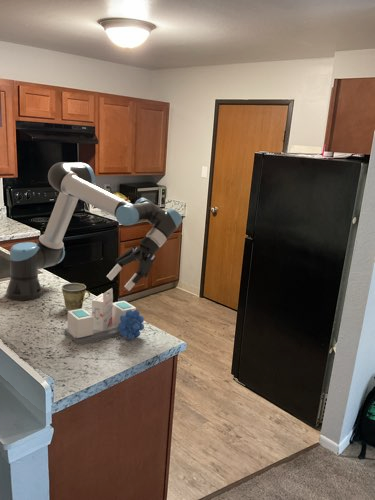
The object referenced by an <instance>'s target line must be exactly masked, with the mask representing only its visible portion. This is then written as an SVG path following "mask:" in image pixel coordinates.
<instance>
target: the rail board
mask: <svg viewBox="0 0 375 500" xmlns="http://www.w3.org/2000/svg"><path fill="white" fill-rule="evenodd" d="M127 310H132V311H134V310H137V307H135V306H134V305H132V304H130V303H129V302H127V301H126V300H121V301H115V302H113V309H112V323H111V324H110V325H109V326H108V327H107V328H106V329H105V330H104V331H99V330H93V327H94V316H92V313H90V312H88V310H86V309H84V308H83V307H82V309H77V310H71V311H67V327H66V328H64V332H63V333H64V334H66V336H67V337H69V338H70V339H71V340H72V341H73V343H75V344H76V345H77V346H81V345H86V344H90V343H94V342H97V341H101V340H102V341H103V340H106V339H109V338H113V337H114V338H115V337H118V336H121V333H120V332H121V330H119V329H118V324H119V323H120V322H121V321H120V316H121V315H126V311H127Z"/></svg>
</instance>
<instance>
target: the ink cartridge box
mask: <svg viewBox="0 0 375 500" xmlns="http://www.w3.org/2000/svg"><path fill="white" fill-rule="evenodd" d="M113 291H114V290H113V287H111V288H110V289H108V290H107V291H105V292H104V293H101V294H99V295H97V296H96V297H95V298H93V299H91V315H92V316H94V327H93V330H99V331H104V330H105V329H106V328H107V327H108V326H109V325H110V324H111V323H112V309H113V303H114V302H113V301H114V293H113Z"/></svg>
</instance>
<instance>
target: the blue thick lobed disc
mask: <svg viewBox="0 0 375 500" xmlns="http://www.w3.org/2000/svg"><path fill="white" fill-rule="evenodd" d="M144 320H145V318H144V316H143V315H141V314H140V311H139V310H137V309H136V310H134V311H132V310H127V311H126V315H121V316H120V321H121V322H120V323H119V324H118V329H119V330H121V332H120V333H121V335H120V336H121V337H123V338H126V339H127V340H129V341H130V340H131V341H132V340H133V339H134V337H135V338H138V337H140V336H141V331H143V330H144V329H145V325H144Z"/></svg>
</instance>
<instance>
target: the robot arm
mask: <svg viewBox="0 0 375 500" xmlns="http://www.w3.org/2000/svg"><path fill="white" fill-rule="evenodd" d="M47 178H48V179H47V180H48V182H49V185H51V187H52V188H53V189H54V190H55V191H58V192H59V194H58V195H57V198H56V201H55V203H54V207H53V210H52V211H51V214H50V217H49V220H48V222H47V225H46V228H45V231H44V233H43V234H41V235H40V236H39V237H38V240H37V243H35V242H32V241H26V242H19V243H16V244H14V245H12V246H11V247H10V249H9V270H10V272H9V273H10V274H9V275H10V276H9V277H10V280H9V283H8V285H7V288H6V290H5V291H6V292H5V293H6V297H7V298H8V299H10V300H13V301H15V300H16V301H28V300H29V301H30V300H35V299H37V298H40V297H41V296H42V295H43V289H42V285H41V284H40V280H39V274H38V273H39V270H41V269H44V268H45V269H46V268H49V267H53V266H57V265H58V264H59V263H61V262H62V261H63V260H64V258H65V255H66V251H65V245H64V244H65V243H64V242H63V239H64V236H65V234H66V232H67V229H68V226H69V224H70V221H71V219H72V216H73V214H74V212H75V209H76V207H77V204H78V203H79V202H78V201H79V200H81V201H83V202H85V203H87V204H88V205H90V206H93V207H95V208H96V209H98V210H100V211H102V212H104V213H106V214H108V215H110V216H112V217H114V218H116V221H117V222H118V224H120V225H122V226H133V225H137V224H141V223H145V222H146V223H149V224H150V225H152V226H153V227H151V229H150V230H149V231H148V232H147V233H146V236H144V237H143V238H142V239H141V240H140V242H139V247H137V246H136V245H133V246H132V247H131V248H130V249H128V250H127V251H126V252H124V253H123V254H122V255H120V256H118V257H117V258H116V259H115V262H116V264H115V266H114V265H113V268H112V269H111V270H110V271H109V273H108V274H107V275H106V278H108V279H109V280H110V281H113V280H114V278H115V277H116V276H117V275H118V274H119V272H121V271H122V270H123V268H124V266H126V265H128V264H130V263H132V262H136V261H138V262H139V263H138V266H137V268H138V269H137V271H136V272H134V274H133V275H132V276H131V278H130V279H129V280H128V281H127V282H126V284H125V285H124V286H123V287H124V288H125V290H127V291H128V292H130V291H131V290H132V289H133V287H135V285H137V284H138V282H139V281H140V280H141V279H143V278H144V279H146V278H147V277H148V275H149V274H150V271H151V268H152V266H153V263H154V261H155V260H156V259H157V257H156V253H157V252H158V251H159V250H160V248H161V247H162V246H163V245H164V244H166V241H168V239H169V238H170V237H171V236H172V235H173V233H175V231H176V230H177V229H178V228H179V226H180V225H181V223H183V217H182V215H181V214H180V213H179V212H178V211H177V210H175V209H173V208H168V209H166V210H164V209H163V208H161V207H160V206H158V205H157V204H155V203H153V202H152V201H151V200H150V199H147V198H145V197H140V198H139V199H137V200H136V201H135V202H134V203H132V202H129V201H127V200H125V199H123V198H121V197H119V196H116V194H113V193H111V192H109V191H107V190H105V189H103V188H101V187H99V186H97V185H96V184H95V181H96V177H95V173H94V170H93V168H92V167H91V166H90V165H89V164H87V163H85V162H81V161H75V162H68V161H67V162H66V161H62V162H61V161H60V162H56V163H55V164H53V165H52V166H51V167H50V169H49V170H48V174H47Z"/></svg>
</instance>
